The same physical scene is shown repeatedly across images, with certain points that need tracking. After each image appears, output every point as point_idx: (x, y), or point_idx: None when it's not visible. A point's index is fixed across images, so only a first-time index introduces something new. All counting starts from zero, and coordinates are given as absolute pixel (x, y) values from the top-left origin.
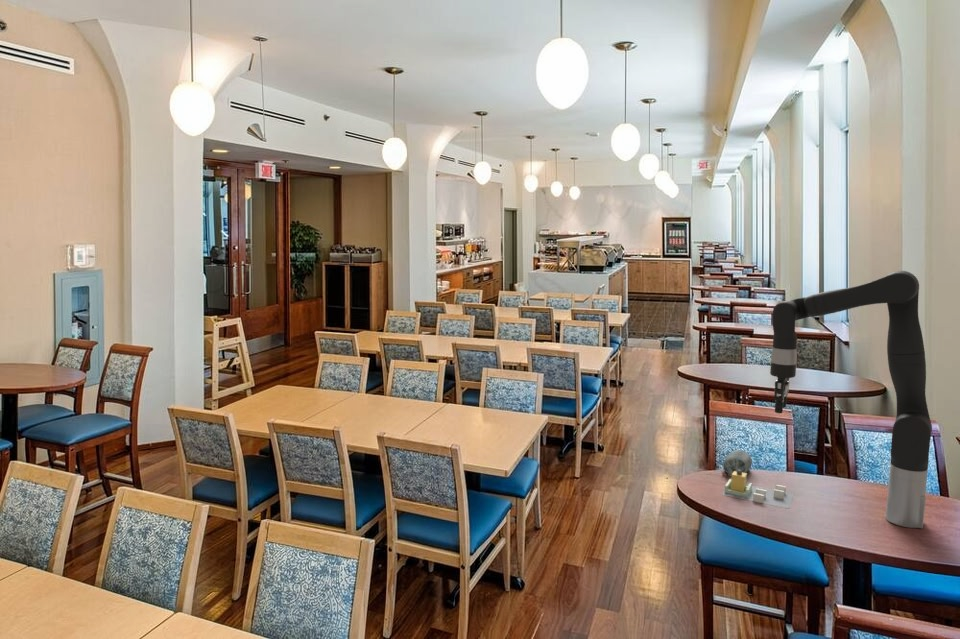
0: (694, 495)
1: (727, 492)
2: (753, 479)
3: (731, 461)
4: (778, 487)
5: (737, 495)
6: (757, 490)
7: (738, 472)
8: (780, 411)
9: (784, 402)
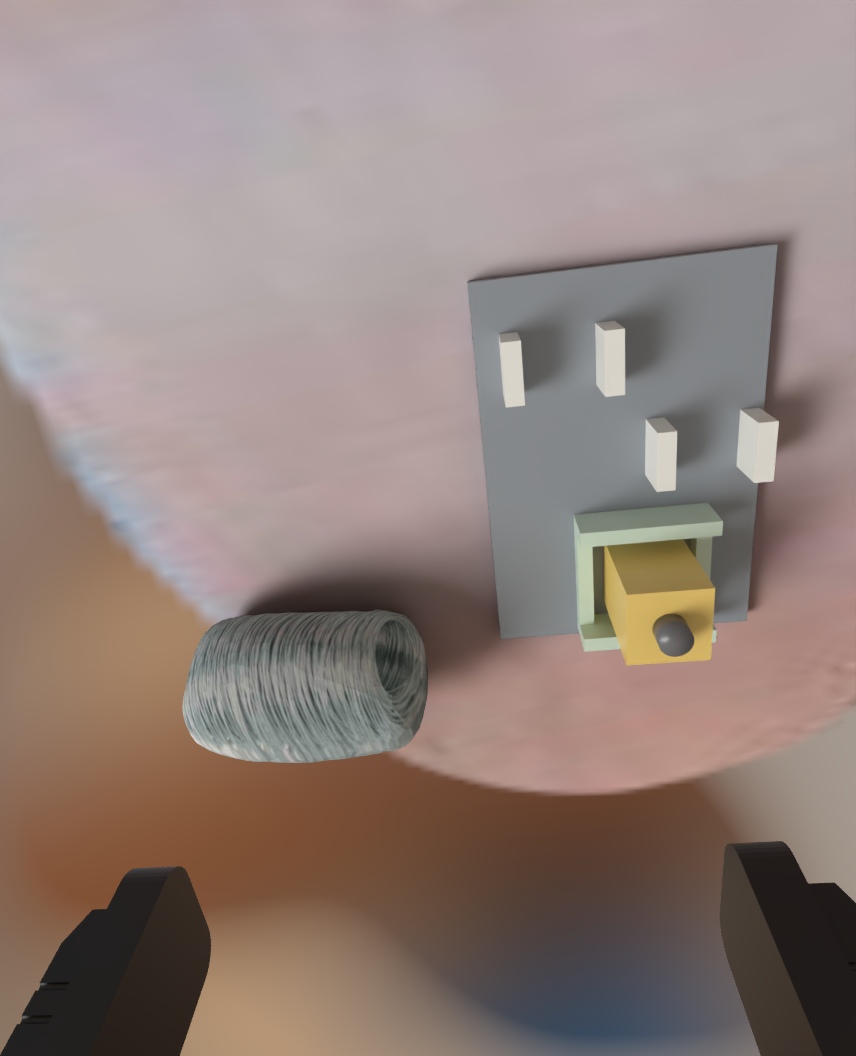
0: (790, 715)
1: None
2: (344, 554)
3: (418, 719)
4: (523, 385)
5: (711, 554)
6: (672, 478)
7: (691, 637)
8: (848, 897)
9: (138, 997)
